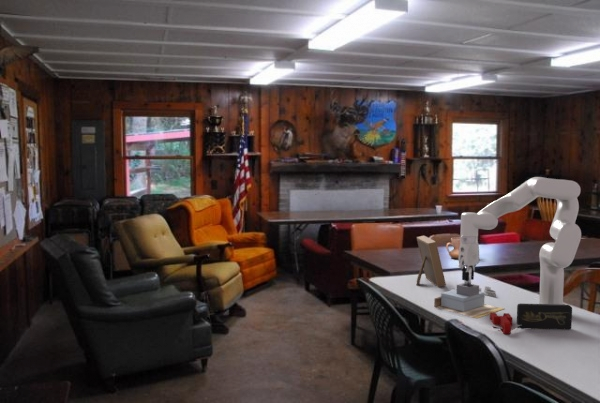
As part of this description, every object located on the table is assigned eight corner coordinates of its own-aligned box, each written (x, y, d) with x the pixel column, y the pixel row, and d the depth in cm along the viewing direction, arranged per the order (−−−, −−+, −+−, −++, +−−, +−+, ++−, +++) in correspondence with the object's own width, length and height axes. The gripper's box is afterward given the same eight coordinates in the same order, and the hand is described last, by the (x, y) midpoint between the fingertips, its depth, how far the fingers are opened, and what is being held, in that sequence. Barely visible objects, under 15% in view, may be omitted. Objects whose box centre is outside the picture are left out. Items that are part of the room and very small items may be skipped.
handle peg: (472, 289, 238) (473, 267, 237) (468, 290, 236) (469, 268, 235) (466, 287, 240) (467, 266, 239) (462, 288, 238) (463, 267, 237)
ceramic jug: (469, 256, 370) (469, 236, 369) (475, 260, 355) (475, 239, 354) (443, 256, 371) (443, 236, 370) (448, 260, 357) (448, 239, 356)
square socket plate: (484, 305, 241) (484, 284, 240) (463, 311, 231) (464, 289, 230) (461, 299, 250) (462, 279, 250) (440, 305, 240) (441, 284, 240)
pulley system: (492, 292, 275) (462, 289, 278) (493, 283, 274) (463, 280, 278) (499, 308, 249) (466, 305, 252) (500, 299, 248) (467, 295, 251)
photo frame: (433, 277, 304) (433, 235, 302) (446, 287, 283) (446, 241, 280) (408, 278, 303) (408, 235, 301) (419, 287, 282) (419, 242, 279)
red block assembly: (489, 322, 222) (490, 311, 222) (507, 323, 221) (507, 311, 221) (498, 335, 206) (498, 322, 206) (517, 336, 205) (517, 323, 205)
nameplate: (569, 328, 214) (570, 304, 213) (571, 330, 212) (572, 305, 211) (516, 327, 216) (517, 303, 215) (517, 328, 214) (518, 304, 213)
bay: (504, 312, 236) (504, 300, 236) (476, 321, 223) (476, 309, 222) (462, 301, 254) (462, 290, 253) (434, 310, 240) (434, 298, 239)
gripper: (465, 242, 228) (464, 284, 230) (486, 239, 238) (485, 278, 240) (451, 240, 234) (449, 280, 236) (472, 237, 244) (471, 275, 246)
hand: (467, 279), depth 238 cm, fingers closed on handle peg, 3 cm apart
